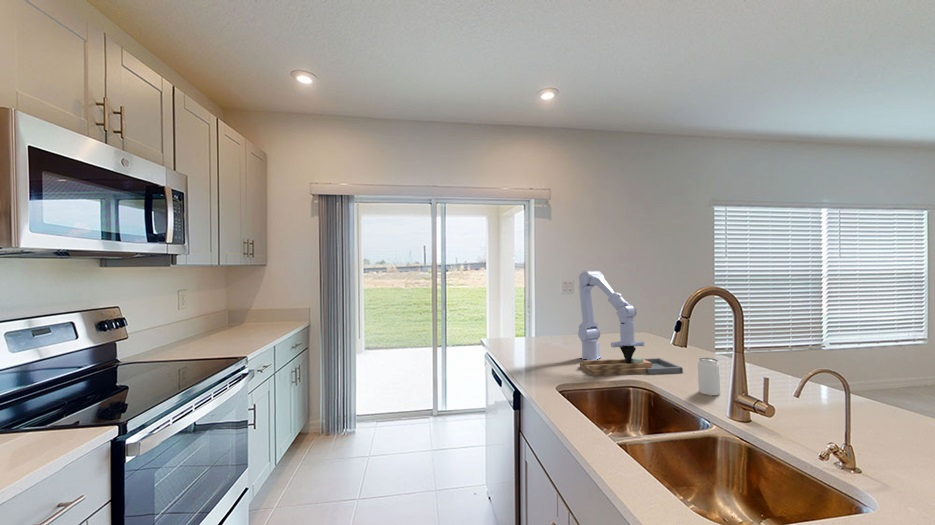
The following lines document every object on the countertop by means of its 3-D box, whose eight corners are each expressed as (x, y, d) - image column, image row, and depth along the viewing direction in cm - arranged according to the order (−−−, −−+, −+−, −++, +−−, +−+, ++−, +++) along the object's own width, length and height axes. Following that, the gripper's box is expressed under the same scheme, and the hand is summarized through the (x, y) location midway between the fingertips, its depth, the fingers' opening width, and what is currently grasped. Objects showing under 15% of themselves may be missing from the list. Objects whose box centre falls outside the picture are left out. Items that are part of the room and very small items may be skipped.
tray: (648, 374, 154) (648, 369, 154) (628, 364, 171) (628, 359, 171) (682, 372, 156) (682, 367, 156) (659, 362, 172) (659, 358, 172)
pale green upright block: (634, 366, 159) (634, 359, 159) (627, 363, 165) (627, 356, 165) (643, 366, 160) (642, 359, 160) (635, 362, 166) (635, 356, 166)
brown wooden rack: (592, 376, 154) (592, 367, 154) (579, 367, 168) (579, 359, 168) (646, 373, 156) (646, 365, 156) (629, 364, 170) (629, 357, 170)
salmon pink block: (642, 369, 160) (643, 362, 160) (635, 365, 166) (635, 359, 166) (651, 369, 160) (651, 362, 160) (643, 365, 166) (644, 359, 166)
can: (723, 396, 127) (722, 362, 127) (703, 395, 128) (702, 361, 128) (715, 390, 133) (714, 357, 133) (695, 389, 135) (694, 357, 135)
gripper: (615, 334, 158) (616, 365, 158) (647, 333, 159) (648, 364, 159) (608, 331, 165) (609, 361, 165) (639, 330, 166) (640, 360, 166)
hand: (628, 362), depth 162 cm, fingers closed
